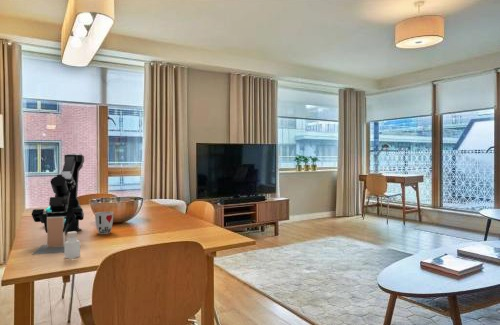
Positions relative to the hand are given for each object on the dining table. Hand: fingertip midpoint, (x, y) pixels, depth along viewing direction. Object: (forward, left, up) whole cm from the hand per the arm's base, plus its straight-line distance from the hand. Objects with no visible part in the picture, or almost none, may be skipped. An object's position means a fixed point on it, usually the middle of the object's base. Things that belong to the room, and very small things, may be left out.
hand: (55, 231), depth 142 cm
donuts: (-47, +14, -7) cm, 50 cm away
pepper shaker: (+19, +1, -7) cm, 20 cm away
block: (-1, +1, -6) cm, 6 cm away
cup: (-12, +25, -7) cm, 28 cm away
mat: (+2, -1, -7) cm, 7 cm away
